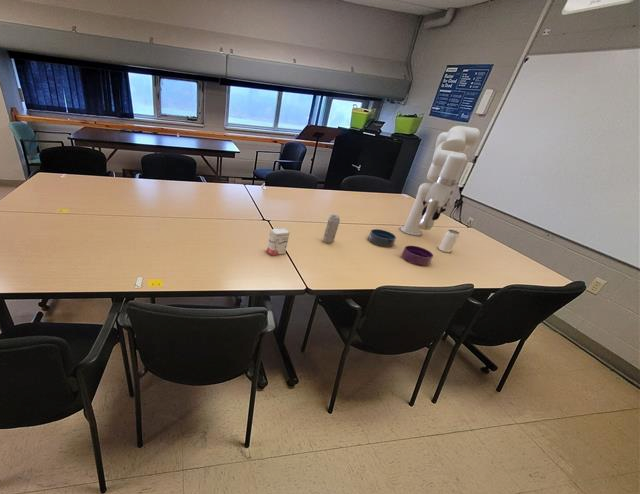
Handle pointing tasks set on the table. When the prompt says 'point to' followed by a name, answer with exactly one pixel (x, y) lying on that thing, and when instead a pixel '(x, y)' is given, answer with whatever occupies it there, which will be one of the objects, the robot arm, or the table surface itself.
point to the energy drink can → (331, 229)
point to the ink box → (278, 241)
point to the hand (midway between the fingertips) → (429, 217)
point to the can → (448, 240)
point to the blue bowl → (382, 237)
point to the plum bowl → (417, 255)
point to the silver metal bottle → (429, 214)
